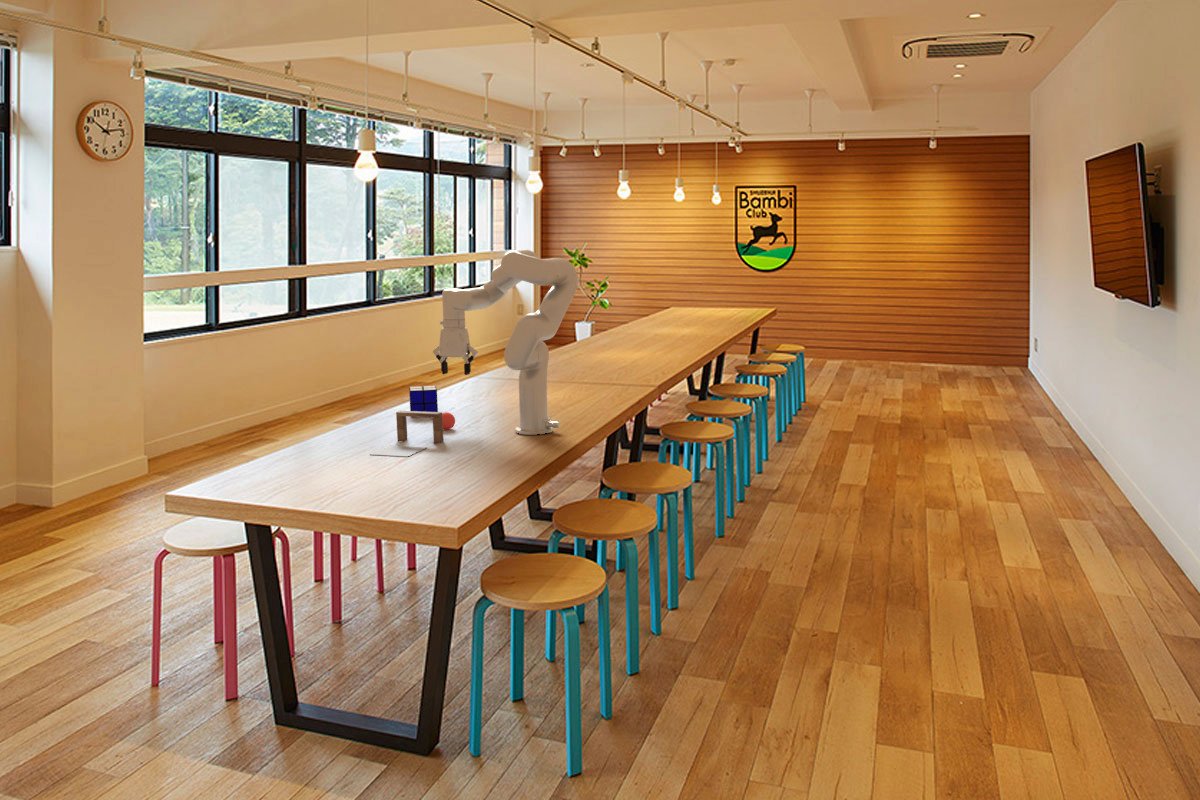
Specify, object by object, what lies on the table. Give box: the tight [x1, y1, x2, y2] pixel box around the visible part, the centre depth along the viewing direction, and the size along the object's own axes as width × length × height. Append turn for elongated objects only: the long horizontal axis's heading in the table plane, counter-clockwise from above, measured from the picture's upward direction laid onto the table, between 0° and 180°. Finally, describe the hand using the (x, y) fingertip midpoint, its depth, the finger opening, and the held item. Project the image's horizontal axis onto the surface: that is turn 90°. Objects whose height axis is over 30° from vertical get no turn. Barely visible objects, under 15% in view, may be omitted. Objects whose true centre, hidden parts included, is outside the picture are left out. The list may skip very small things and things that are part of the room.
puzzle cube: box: [408, 385, 439, 412], centre depth 377 cm, size 10×10×10 cm
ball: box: [442, 411, 456, 431], centre depth 348 cm, size 6×6×6 cm
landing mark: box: [369, 445, 428, 458], centre depth 315 cm, size 13×13×1 cm
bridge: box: [395, 410, 444, 444], centre depth 329 cm, size 3×15×10 cm, turn 73°
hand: (456, 373), depth 354 cm, fingers open, 7 cm apart
